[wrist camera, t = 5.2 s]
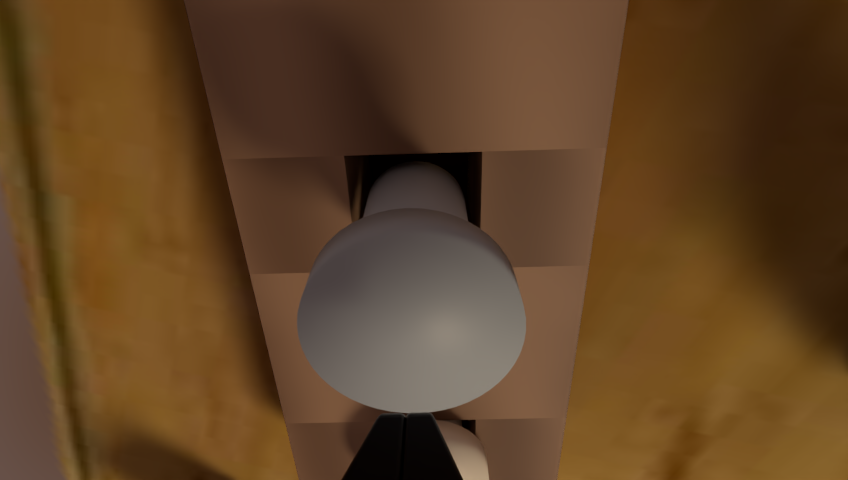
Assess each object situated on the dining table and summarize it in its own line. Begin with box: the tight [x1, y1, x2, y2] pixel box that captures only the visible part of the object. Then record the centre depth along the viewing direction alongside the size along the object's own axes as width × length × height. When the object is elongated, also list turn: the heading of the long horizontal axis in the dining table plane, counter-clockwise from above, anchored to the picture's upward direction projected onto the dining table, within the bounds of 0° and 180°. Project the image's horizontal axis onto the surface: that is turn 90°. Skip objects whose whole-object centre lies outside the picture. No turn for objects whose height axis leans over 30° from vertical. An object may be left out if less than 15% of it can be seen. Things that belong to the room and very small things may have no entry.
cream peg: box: [436, 420, 489, 480], centre depth 21 cm, size 4×4×6 cm
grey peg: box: [297, 161, 526, 413], centre depth 12 cm, size 4×4×6 cm
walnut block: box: [184, 0, 629, 480], centre depth 19 cm, size 10×22×5 cm, turn 2°
